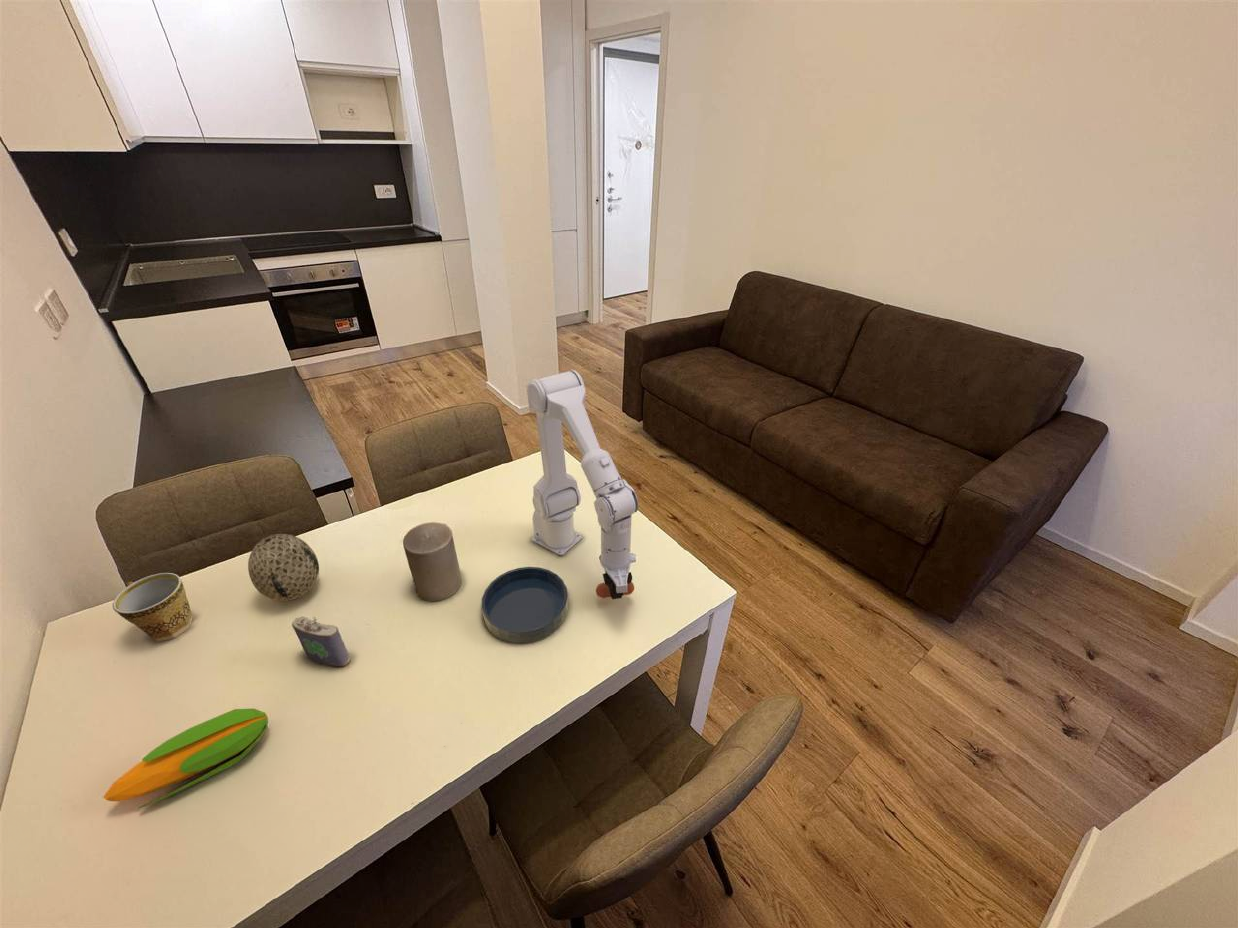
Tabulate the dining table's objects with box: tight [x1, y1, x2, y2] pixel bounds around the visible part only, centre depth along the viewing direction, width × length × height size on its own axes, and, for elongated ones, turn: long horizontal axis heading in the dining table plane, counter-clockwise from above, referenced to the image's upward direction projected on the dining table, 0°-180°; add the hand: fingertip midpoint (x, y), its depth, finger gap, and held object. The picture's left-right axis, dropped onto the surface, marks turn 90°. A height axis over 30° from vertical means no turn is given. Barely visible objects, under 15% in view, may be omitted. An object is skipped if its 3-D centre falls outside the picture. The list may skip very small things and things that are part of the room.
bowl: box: [481, 566, 569, 645], centre depth 104 cm, size 17×17×4 cm
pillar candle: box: [402, 521, 462, 602], centre depth 106 cm, size 10×10×15 cm
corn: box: [102, 708, 269, 810], centre depth 76 cm, size 7×8×20 cm
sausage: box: [595, 581, 635, 599], centre depth 105 cm, size 8×3×3 cm, turn 100°
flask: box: [291, 616, 352, 668], centre depth 92 cm, size 9×3×11 cm, turn 74°
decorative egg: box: [247, 533, 320, 602], centre depth 104 cm, size 12×12×15 cm
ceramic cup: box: [112, 572, 194, 642], centre depth 98 cm, size 13×10×10 cm
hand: (615, 591), depth 105 cm, fingers closed on sausage, 3 cm apart
